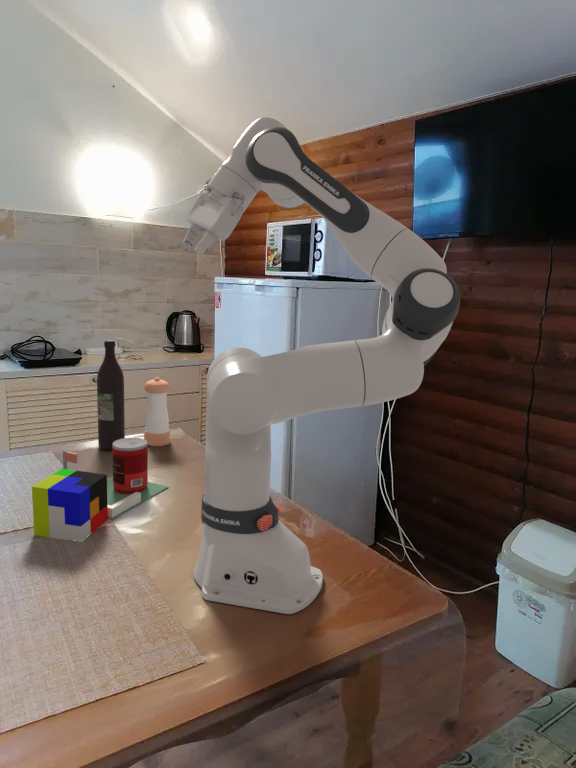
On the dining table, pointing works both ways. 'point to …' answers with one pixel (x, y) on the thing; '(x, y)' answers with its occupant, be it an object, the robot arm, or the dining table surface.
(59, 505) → the puzzle toy
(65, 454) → the cup fence
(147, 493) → the felt runner
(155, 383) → the salt shaker
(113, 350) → the wine bottle
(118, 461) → the canned food
